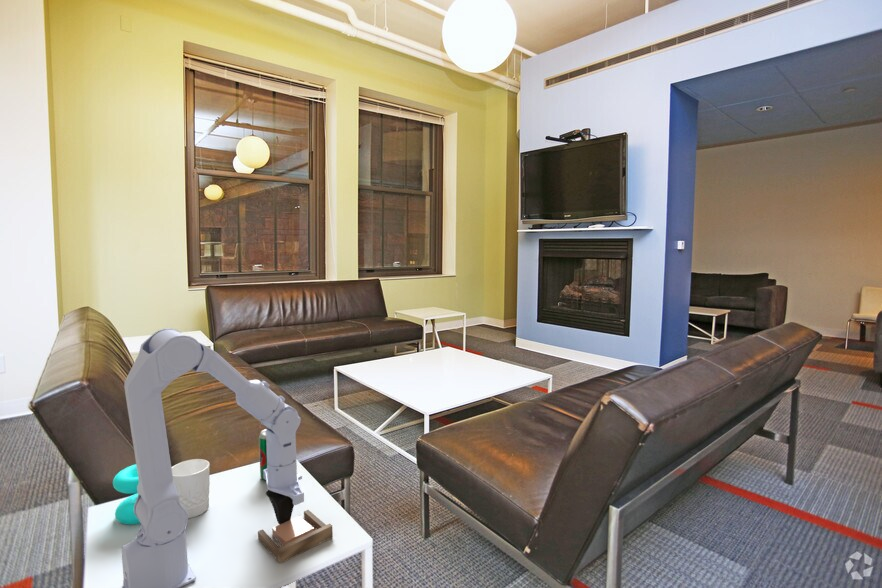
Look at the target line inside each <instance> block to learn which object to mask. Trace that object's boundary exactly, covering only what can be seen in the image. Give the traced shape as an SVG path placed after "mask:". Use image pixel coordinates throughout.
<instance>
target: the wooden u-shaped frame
mask: <svg viewBox="0 0 882 588" xmlns="http://www.w3.org/2000/svg"><path fill="white" fill-rule="evenodd" d="M303 519H304V520H305V521H306V522H307V523H309V524H310V525H311V526H312V527H313V528H314V531H313V532H311V533H309V534H307V535H305V536H302V537H300V538H298V539H296V540H294V541H292V542H290V543H288V544H286V545H281V546H279V545H278V544H277V543H276V542H275V541H274V540H273V539H272V537H270V535H269V534H268V533H267V532H266V531H265V530H264V529H261V530H258V531H257V539H258V540H259V542H260V543H261V544H262V545H264V547H265V548H266V550H267V551H268V552H270V554H272V556H273V557H274V558H275V559H276V561H277V562H279V564H282V563H284V562H287V561H288V560H290V559H292V558H294V557H296V556H298V555H300V554H303V553H304V552H306V551H308V550H310V549H312V548H314V547H316V546H317V545H320V544H322V543H324V542H326V541H328V540H330V539H332V538H334V536H333V535H334V534H333V533H334V532H333V525H332V524H331V523H328V524H326V523H325V522H324V521H323V520H321V519H320V518H319V517H318V516H316V515H315V514H314V513H313V512H312V511H311V510H309V509H306V510H304V511H303Z"/></svg>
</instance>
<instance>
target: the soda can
mask: <svg viewBox="0 0 882 588" xmlns="http://www.w3.org/2000/svg"><path fill="white" fill-rule="evenodd" d="M266 429H267V428H265V429H263V430H261V431H260V433H259V436H258V448H259V449H258V450H259V471H260V472H259V473H260V479H262V480H263V481H266V480H265V479H264V477H263V470H264V469H267V446H266Z"/></svg>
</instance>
